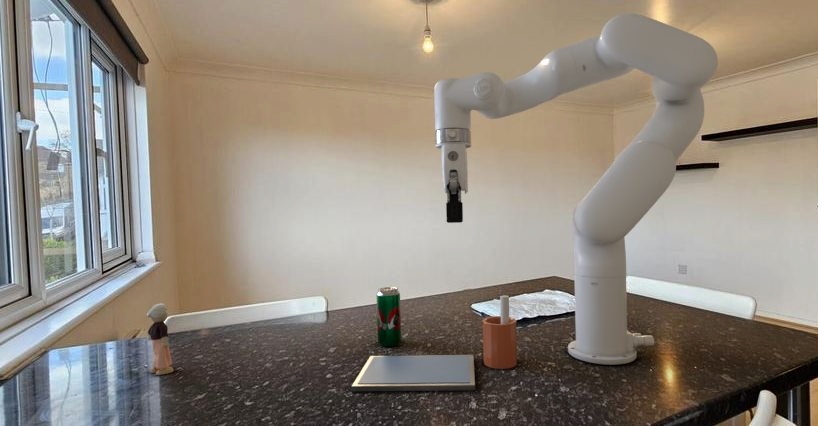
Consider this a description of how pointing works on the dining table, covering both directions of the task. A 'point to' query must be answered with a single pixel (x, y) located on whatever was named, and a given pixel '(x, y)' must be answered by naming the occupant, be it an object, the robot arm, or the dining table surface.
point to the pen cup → (499, 343)
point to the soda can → (388, 317)
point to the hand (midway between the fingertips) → (455, 221)
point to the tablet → (417, 373)
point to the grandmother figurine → (159, 340)
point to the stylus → (504, 309)
